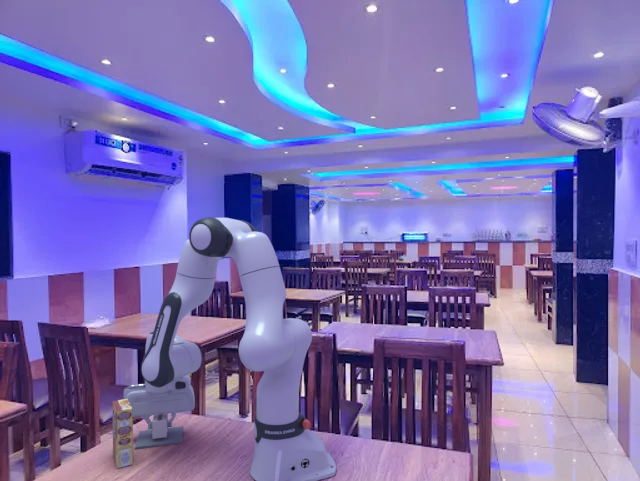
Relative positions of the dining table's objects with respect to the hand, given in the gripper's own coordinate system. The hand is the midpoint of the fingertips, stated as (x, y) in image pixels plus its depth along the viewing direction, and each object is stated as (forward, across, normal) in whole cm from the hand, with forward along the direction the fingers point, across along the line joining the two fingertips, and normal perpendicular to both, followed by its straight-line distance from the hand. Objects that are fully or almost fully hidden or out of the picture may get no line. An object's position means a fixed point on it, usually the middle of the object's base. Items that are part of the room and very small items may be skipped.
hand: (160, 427), depth 131 cm
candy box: (+4, -9, -11) cm, 15 cm away
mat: (+3, 0, 0) cm, 3 cm away
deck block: (+2, 0, 0) cm, 2 cm away
